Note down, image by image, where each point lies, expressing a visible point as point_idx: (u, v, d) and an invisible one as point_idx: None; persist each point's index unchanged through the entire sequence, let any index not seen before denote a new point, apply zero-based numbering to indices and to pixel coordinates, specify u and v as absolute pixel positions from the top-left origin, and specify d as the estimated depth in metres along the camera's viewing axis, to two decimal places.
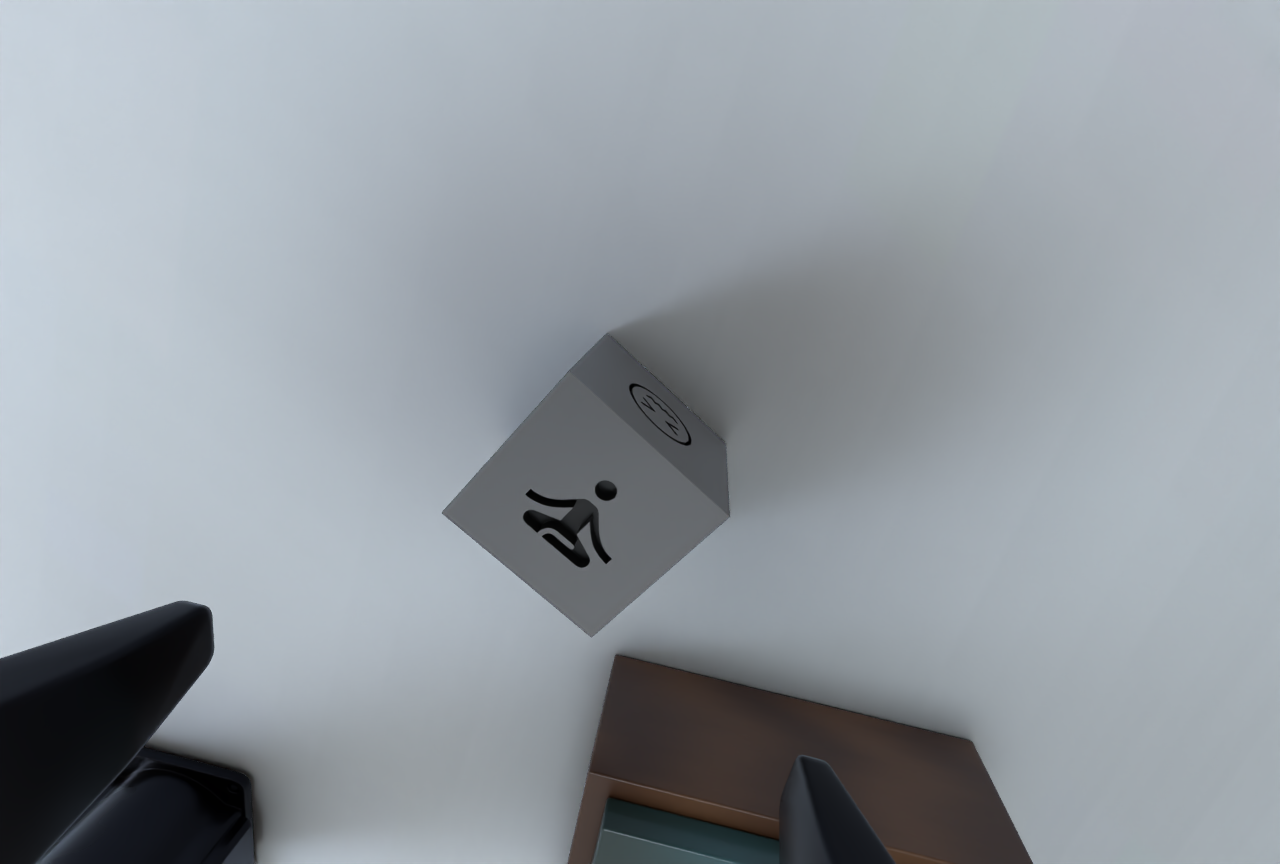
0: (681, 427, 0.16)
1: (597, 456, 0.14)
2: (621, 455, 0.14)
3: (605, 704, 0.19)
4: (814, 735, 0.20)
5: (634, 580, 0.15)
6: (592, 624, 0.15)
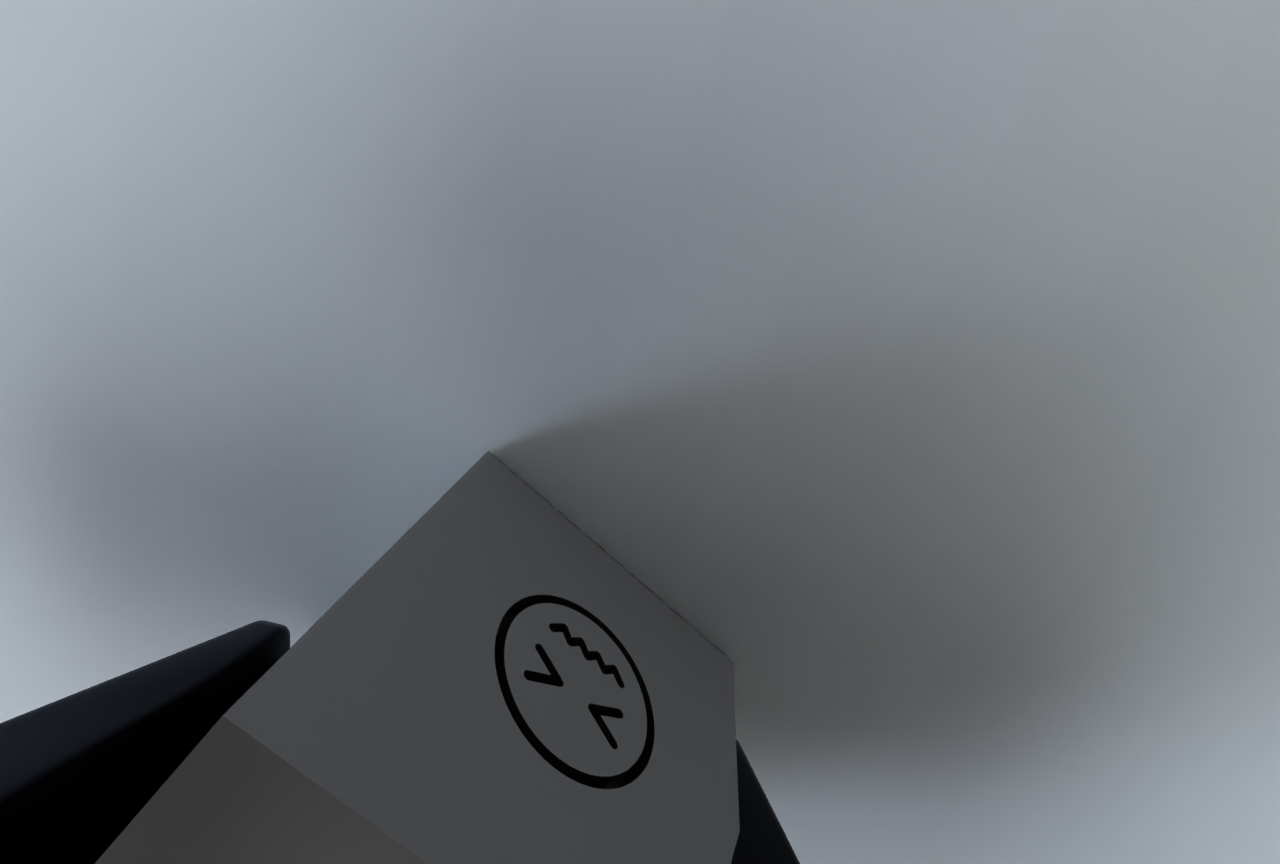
0: (631, 695, 0.07)
1: None
2: None
3: None
4: None
5: None
6: None
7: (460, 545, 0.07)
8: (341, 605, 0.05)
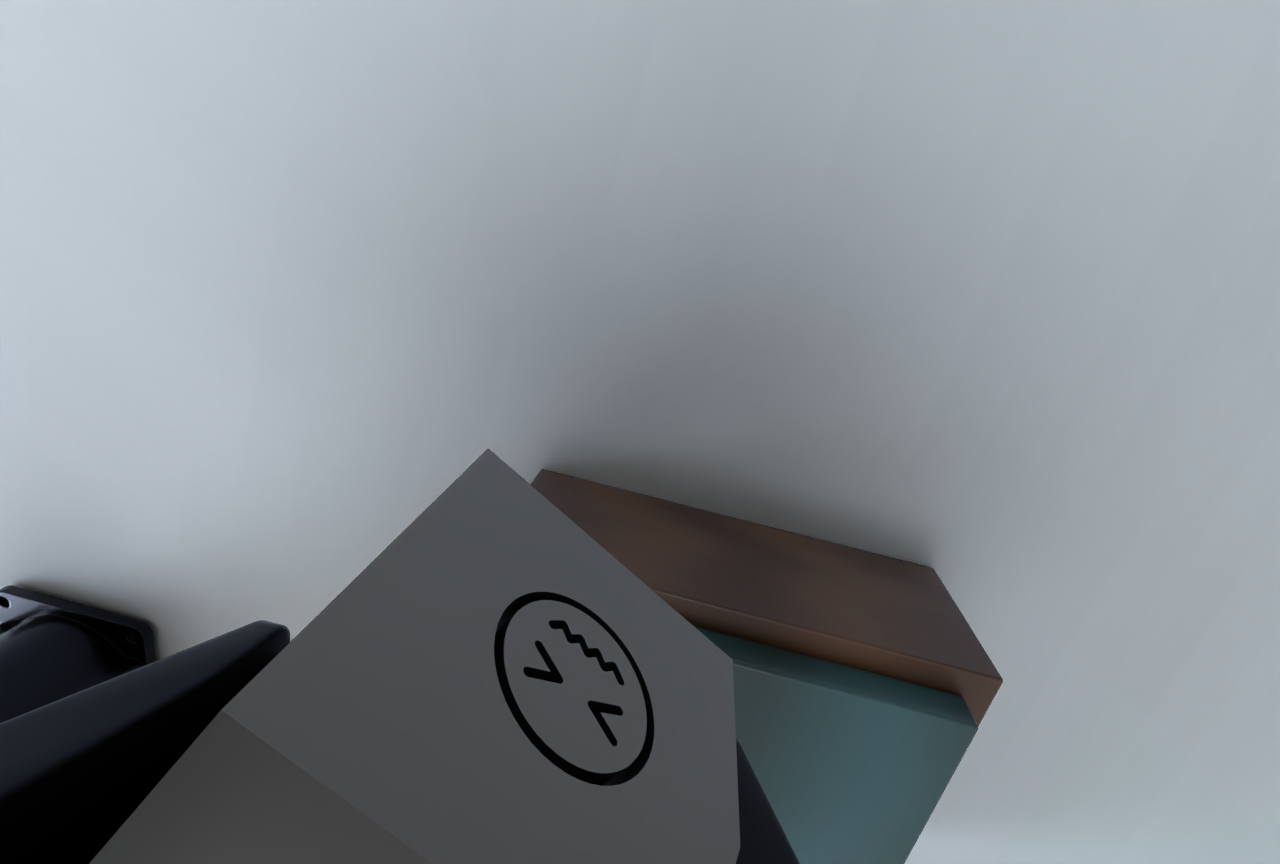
0: (631, 694, 0.07)
1: None
2: None
3: None
4: (756, 546, 0.18)
5: None
6: None
7: (459, 542, 0.07)
8: (340, 601, 0.05)
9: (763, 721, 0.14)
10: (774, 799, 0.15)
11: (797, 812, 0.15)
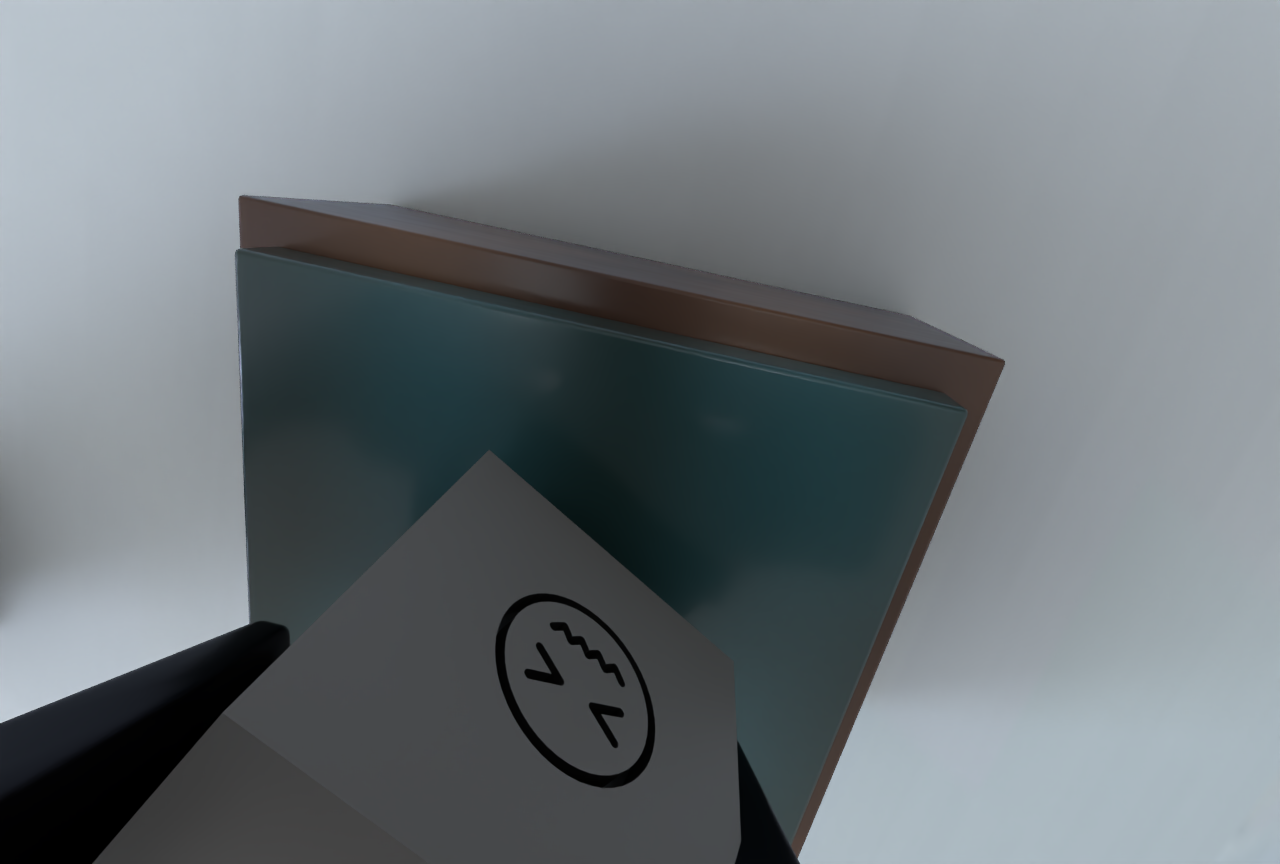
0: (632, 696, 0.07)
1: None
2: None
3: None
4: (663, 268, 0.13)
5: None
6: None
7: (461, 543, 0.07)
8: (341, 603, 0.05)
9: (644, 431, 0.10)
10: (671, 566, 0.10)
11: (706, 586, 0.10)
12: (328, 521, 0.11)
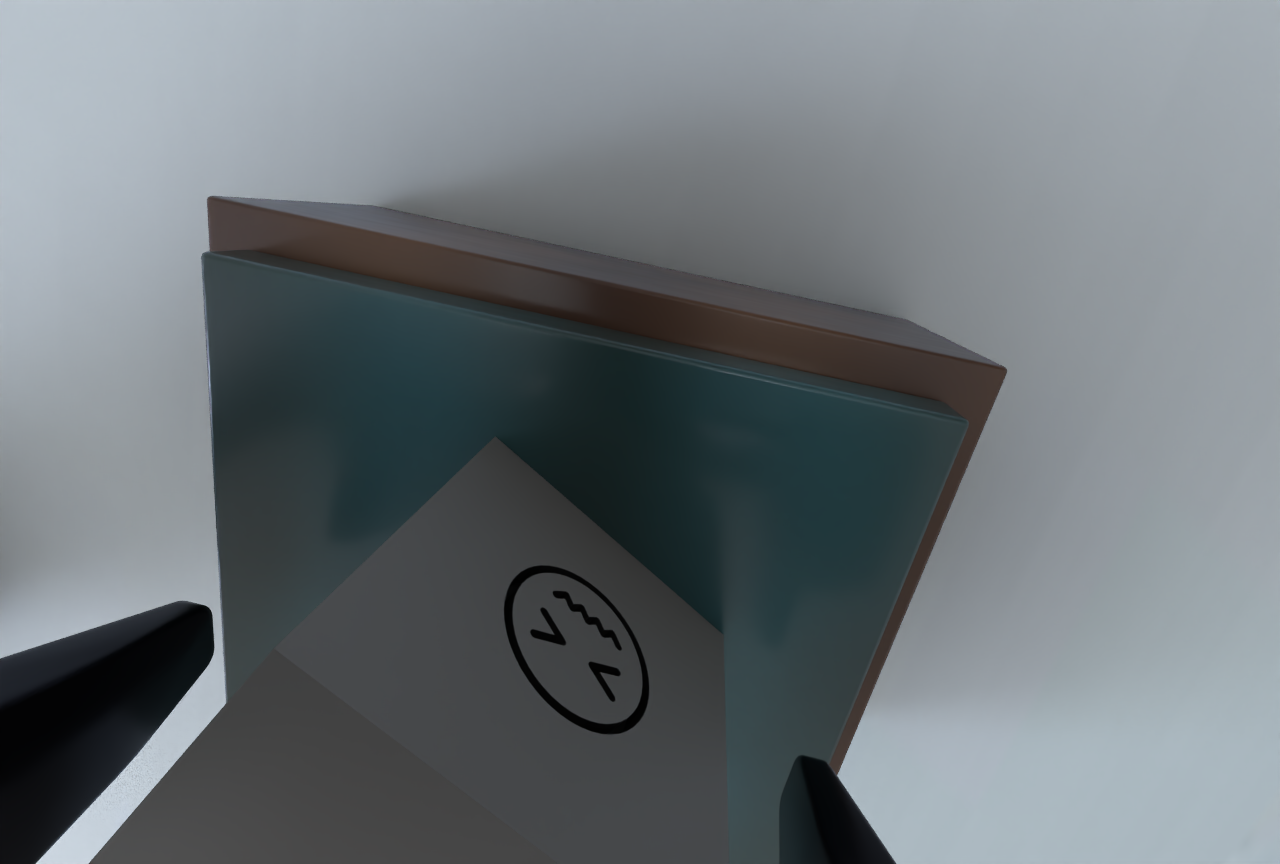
0: (628, 658, 0.08)
1: (382, 844, 0.05)
2: (443, 847, 0.05)
3: None
4: (653, 271, 0.13)
5: None
6: None
7: (471, 518, 0.07)
8: (368, 564, 0.06)
9: (631, 442, 0.09)
10: None
11: (697, 603, 0.10)
12: (303, 536, 0.10)
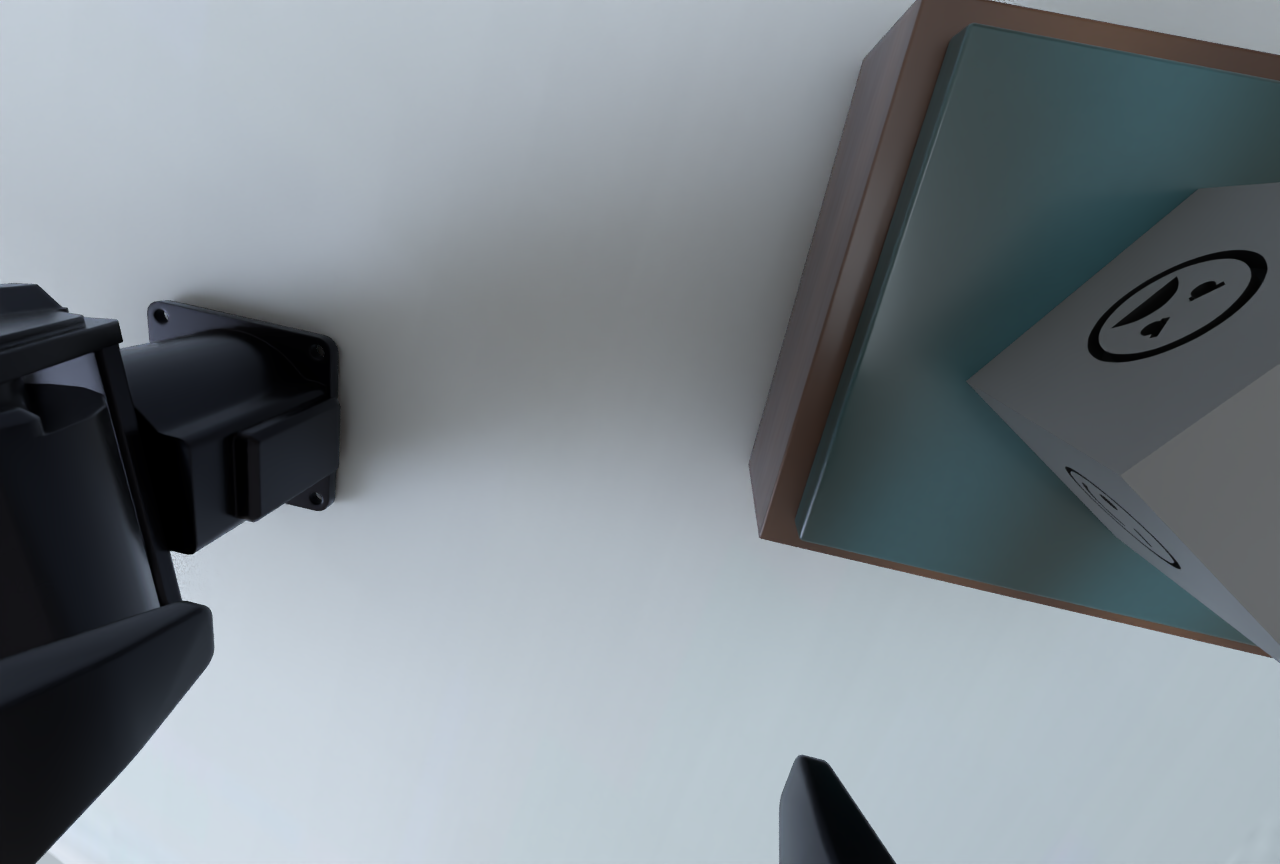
0: None
1: None
2: None
3: None
4: None
5: None
6: None
7: None
8: None
9: None
10: None
11: None
12: (967, 297, 0.12)
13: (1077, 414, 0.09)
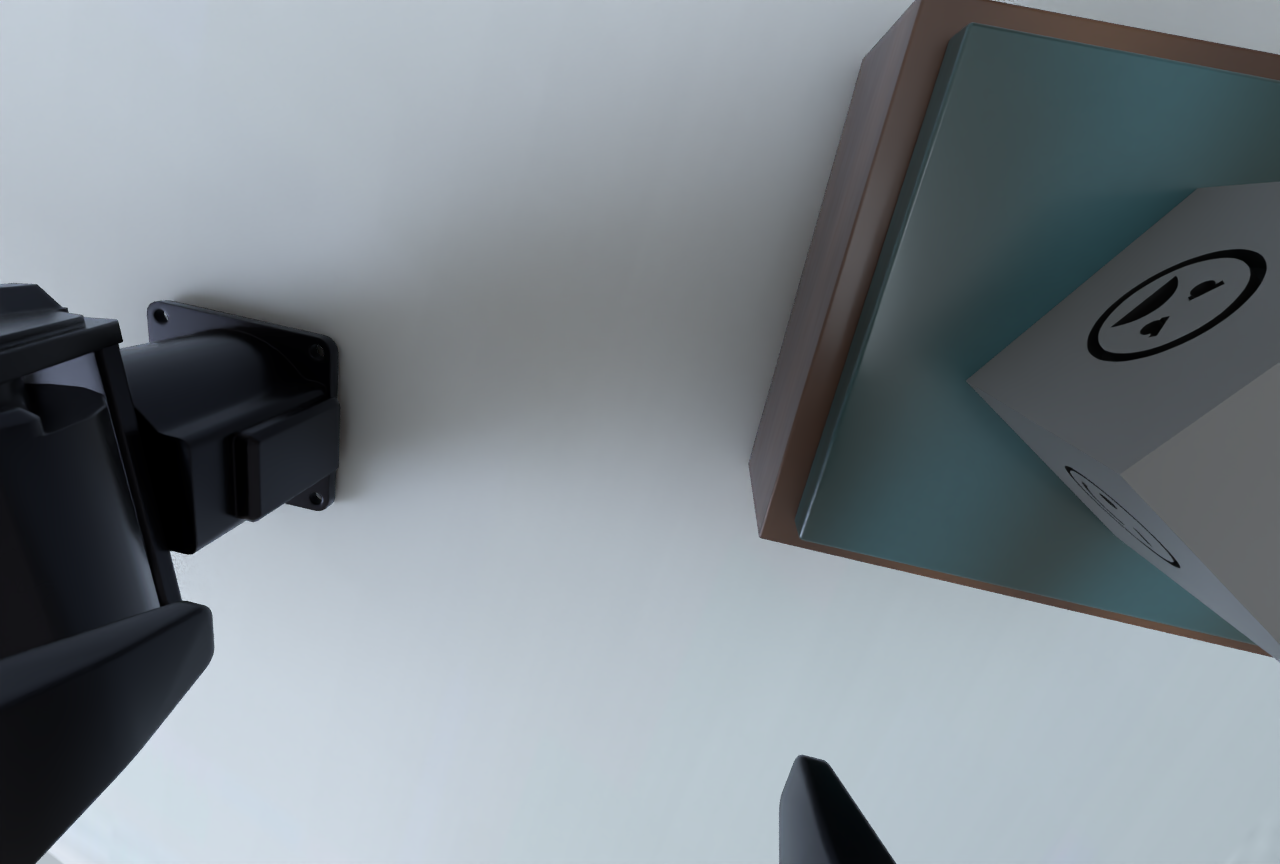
0: None
1: None
2: None
3: None
4: None
5: None
6: None
7: None
8: None
9: None
10: None
11: None
12: (967, 297, 0.12)
13: (1077, 413, 0.09)
